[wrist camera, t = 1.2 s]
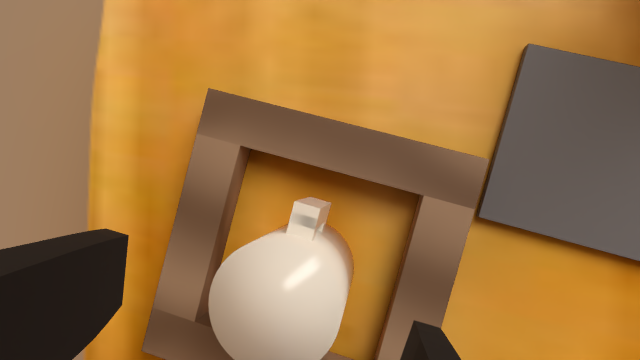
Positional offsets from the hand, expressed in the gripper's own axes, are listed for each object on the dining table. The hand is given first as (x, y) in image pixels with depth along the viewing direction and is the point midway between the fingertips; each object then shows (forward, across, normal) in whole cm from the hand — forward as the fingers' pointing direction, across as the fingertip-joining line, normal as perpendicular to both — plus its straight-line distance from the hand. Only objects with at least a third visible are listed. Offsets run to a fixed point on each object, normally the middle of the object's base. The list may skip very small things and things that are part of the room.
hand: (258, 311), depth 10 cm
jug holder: (+10, 0, +3) cm, 10 cm away
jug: (+10, 0, +4) cm, 10 cm away
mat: (+11, -11, -4) cm, 16 cm away
